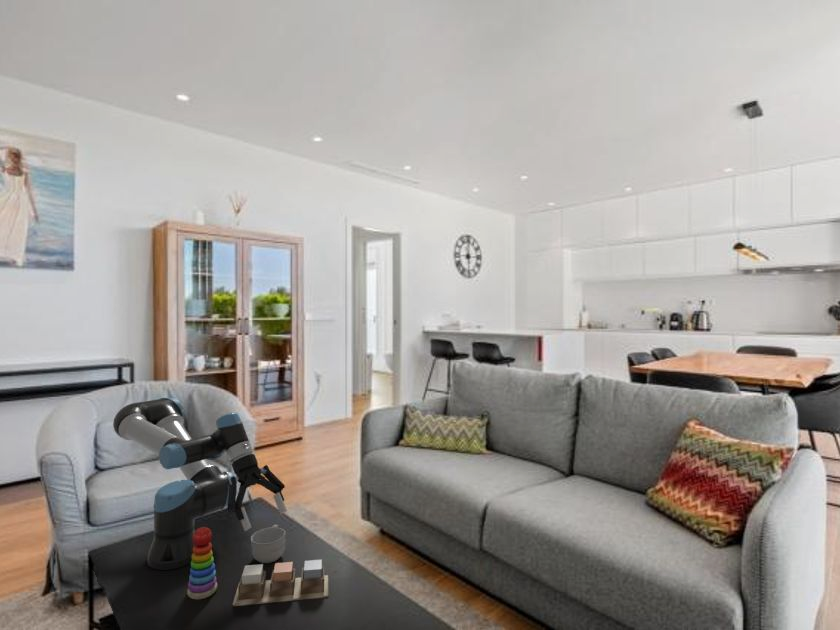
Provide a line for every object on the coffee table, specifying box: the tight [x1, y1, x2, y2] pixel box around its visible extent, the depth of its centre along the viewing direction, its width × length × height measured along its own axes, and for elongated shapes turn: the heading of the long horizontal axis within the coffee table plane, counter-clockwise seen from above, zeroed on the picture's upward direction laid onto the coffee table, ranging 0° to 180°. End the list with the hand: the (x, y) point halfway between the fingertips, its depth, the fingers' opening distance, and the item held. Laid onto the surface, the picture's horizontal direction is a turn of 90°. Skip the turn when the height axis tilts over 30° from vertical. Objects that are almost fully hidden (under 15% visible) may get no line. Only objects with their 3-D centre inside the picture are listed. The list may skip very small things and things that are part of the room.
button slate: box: [303, 559, 323, 579], centre depth 140 cm, size 5×5×4 cm
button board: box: [232, 565, 329, 607], centre depth 138 cm, size 26×10×4 cm, turn 101°
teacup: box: [250, 524, 286, 564], centre depth 156 cm, size 14×11×8 cm
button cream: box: [241, 563, 264, 585], centre depth 136 cm, size 5×5×4 cm
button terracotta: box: [273, 561, 294, 582], centre depth 138 cm, size 5×5×4 cm
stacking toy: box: [186, 526, 218, 600], centre depth 136 cm, size 8×8×19 cm
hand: (266, 520), depth 148 cm, fingers open, 13 cm apart
